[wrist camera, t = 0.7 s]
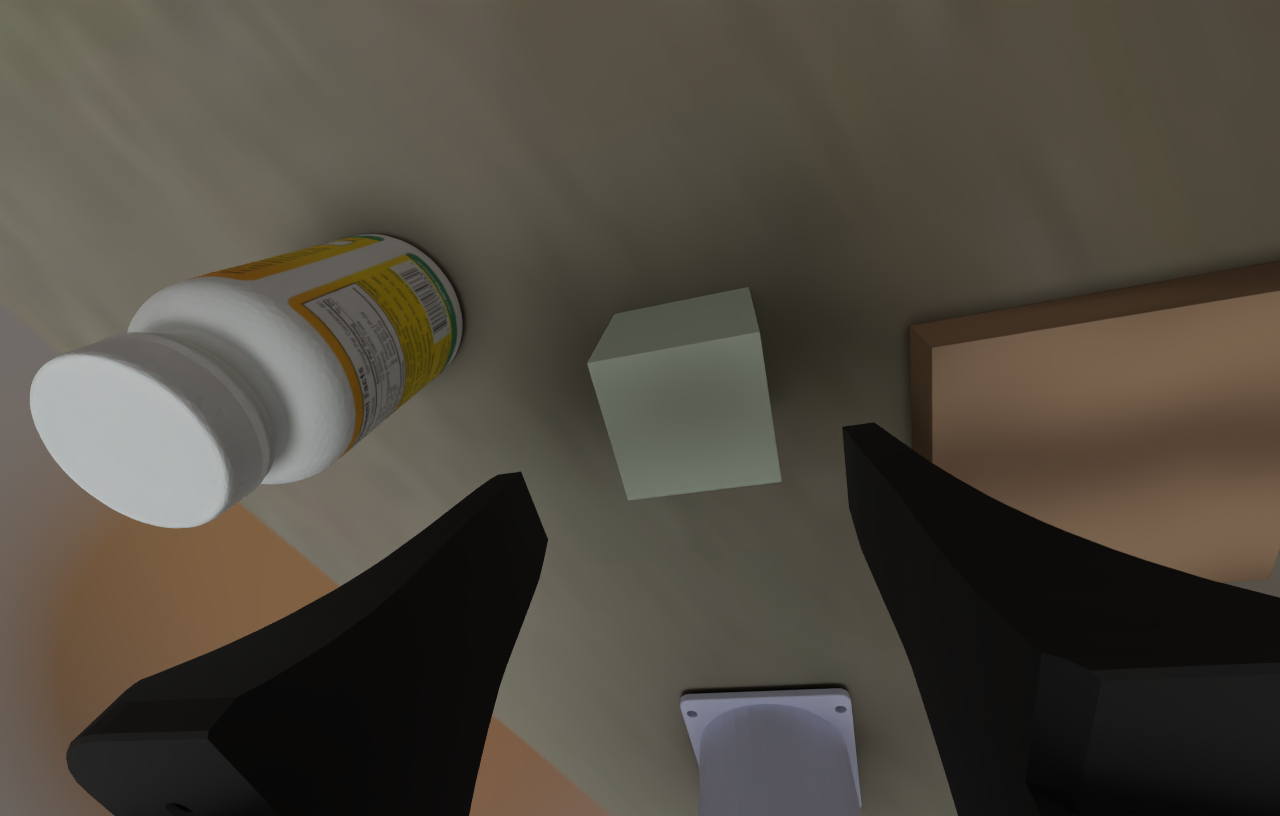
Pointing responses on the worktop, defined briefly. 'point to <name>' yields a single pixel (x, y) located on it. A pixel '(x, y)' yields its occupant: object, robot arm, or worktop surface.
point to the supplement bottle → (247, 377)
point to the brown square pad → (1120, 416)
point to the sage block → (687, 396)
